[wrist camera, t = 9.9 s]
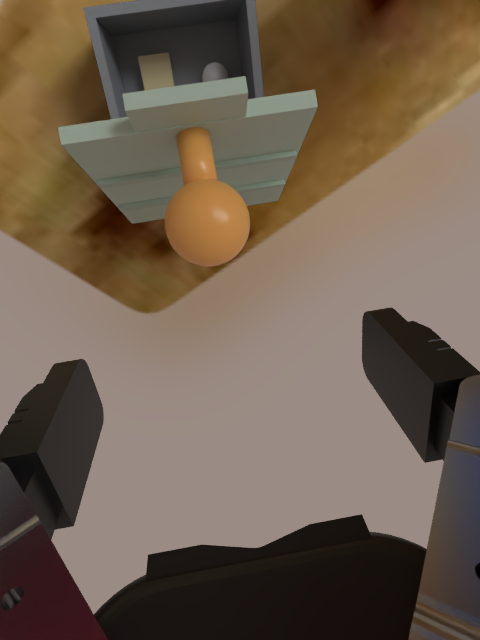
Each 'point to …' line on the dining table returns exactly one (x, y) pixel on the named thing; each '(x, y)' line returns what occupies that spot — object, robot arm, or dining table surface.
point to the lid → (195, 159)
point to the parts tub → (173, 45)
